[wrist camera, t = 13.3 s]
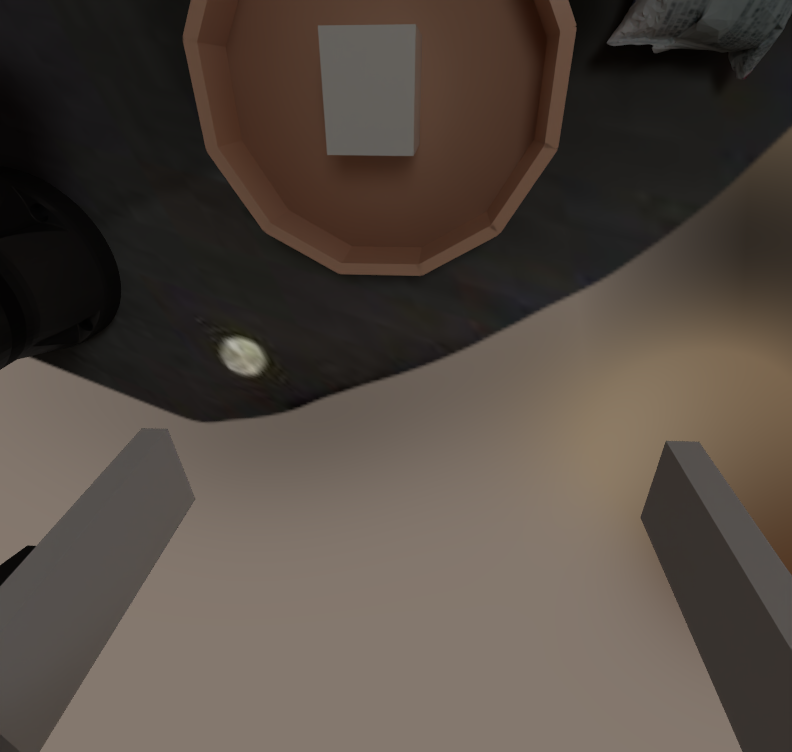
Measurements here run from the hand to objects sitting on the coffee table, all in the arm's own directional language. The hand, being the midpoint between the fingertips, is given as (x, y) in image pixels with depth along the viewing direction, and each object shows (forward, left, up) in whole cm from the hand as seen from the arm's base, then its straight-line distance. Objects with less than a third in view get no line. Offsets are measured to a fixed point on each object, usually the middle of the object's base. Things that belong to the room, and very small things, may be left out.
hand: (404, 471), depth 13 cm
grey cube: (-4, +9, -26) cm, 27 cm away
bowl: (-4, +8, -27) cm, 28 cm away
